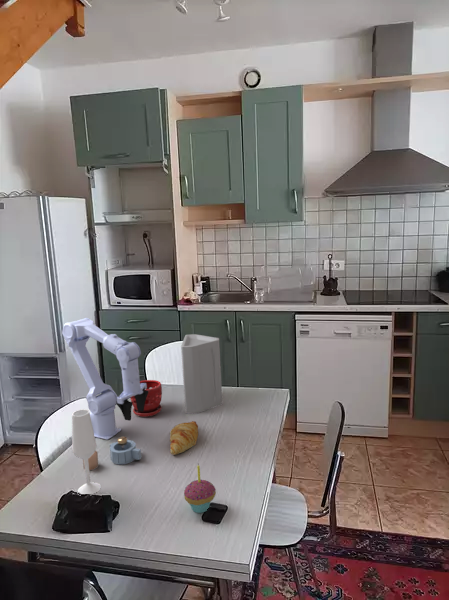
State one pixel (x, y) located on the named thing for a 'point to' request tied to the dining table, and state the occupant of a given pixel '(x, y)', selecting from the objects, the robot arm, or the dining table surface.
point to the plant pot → (150, 399)
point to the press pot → (124, 453)
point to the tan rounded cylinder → (92, 461)
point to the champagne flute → (84, 446)
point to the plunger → (122, 442)
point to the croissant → (183, 437)
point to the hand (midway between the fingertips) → (134, 415)
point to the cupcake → (199, 494)
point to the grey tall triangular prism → (201, 373)
